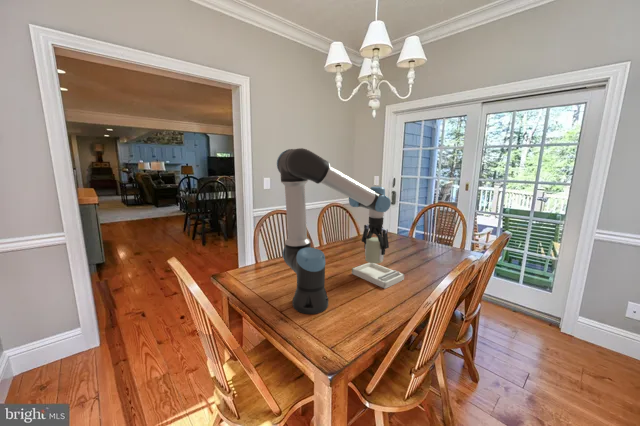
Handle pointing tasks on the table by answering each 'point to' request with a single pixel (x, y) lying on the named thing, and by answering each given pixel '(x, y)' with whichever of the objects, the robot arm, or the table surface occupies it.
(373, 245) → the can
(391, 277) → the rack
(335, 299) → the table surface
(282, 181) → the robot arm
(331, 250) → the table surface
